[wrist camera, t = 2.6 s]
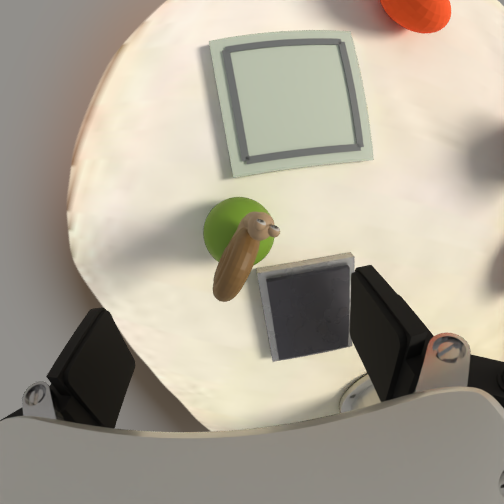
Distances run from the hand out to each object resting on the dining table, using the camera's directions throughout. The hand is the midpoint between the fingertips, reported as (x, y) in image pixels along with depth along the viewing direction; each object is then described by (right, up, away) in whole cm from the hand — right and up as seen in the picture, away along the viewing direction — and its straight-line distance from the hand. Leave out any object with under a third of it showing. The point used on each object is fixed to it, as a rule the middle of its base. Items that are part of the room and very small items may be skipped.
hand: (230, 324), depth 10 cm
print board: (+4, +15, +10) cm, 19 cm away
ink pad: (+7, -3, +18) cm, 19 cm away
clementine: (+15, +27, +6) cm, 31 cm away
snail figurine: (0, +6, +14) cm, 15 cm away
